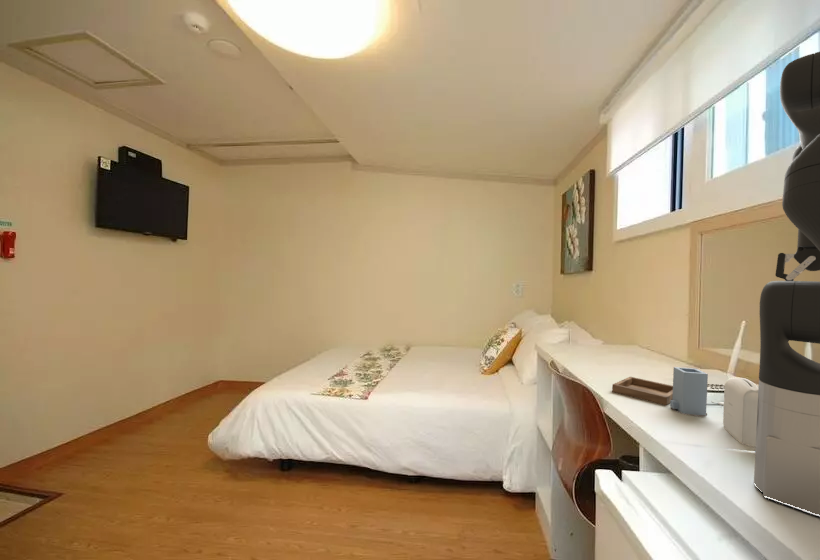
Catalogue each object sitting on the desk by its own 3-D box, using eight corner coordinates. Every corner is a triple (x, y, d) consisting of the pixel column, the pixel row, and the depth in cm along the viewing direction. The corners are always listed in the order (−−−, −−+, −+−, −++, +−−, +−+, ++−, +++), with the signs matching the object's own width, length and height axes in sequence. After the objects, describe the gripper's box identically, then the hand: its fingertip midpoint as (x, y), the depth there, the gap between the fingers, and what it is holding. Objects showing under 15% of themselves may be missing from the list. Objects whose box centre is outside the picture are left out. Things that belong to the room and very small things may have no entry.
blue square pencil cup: (706, 415, 87) (707, 374, 86) (676, 412, 88) (678, 371, 88) (694, 407, 92) (696, 368, 91) (666, 405, 93) (668, 366, 93)
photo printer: (719, 426, 82) (722, 371, 81) (744, 430, 80) (746, 374, 80) (739, 446, 72) (742, 384, 72) (767, 450, 71) (770, 388, 70)
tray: (666, 407, 93) (666, 397, 93) (612, 393, 103) (612, 384, 103) (681, 396, 101) (681, 387, 101) (629, 384, 111) (630, 376, 111)
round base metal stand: (714, 419, 85) (715, 395, 85) (679, 416, 87) (680, 393, 87) (697, 408, 92) (697, 386, 92) (665, 405, 94) (666, 384, 94)
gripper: (776, 228, 86) (773, 296, 87) (873, 222, 76) (868, 300, 76) (780, 230, 91) (776, 295, 92) (871, 226, 80) (867, 299, 81)
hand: (818, 297), depth 84 cm, fingers open, 8 cm apart
